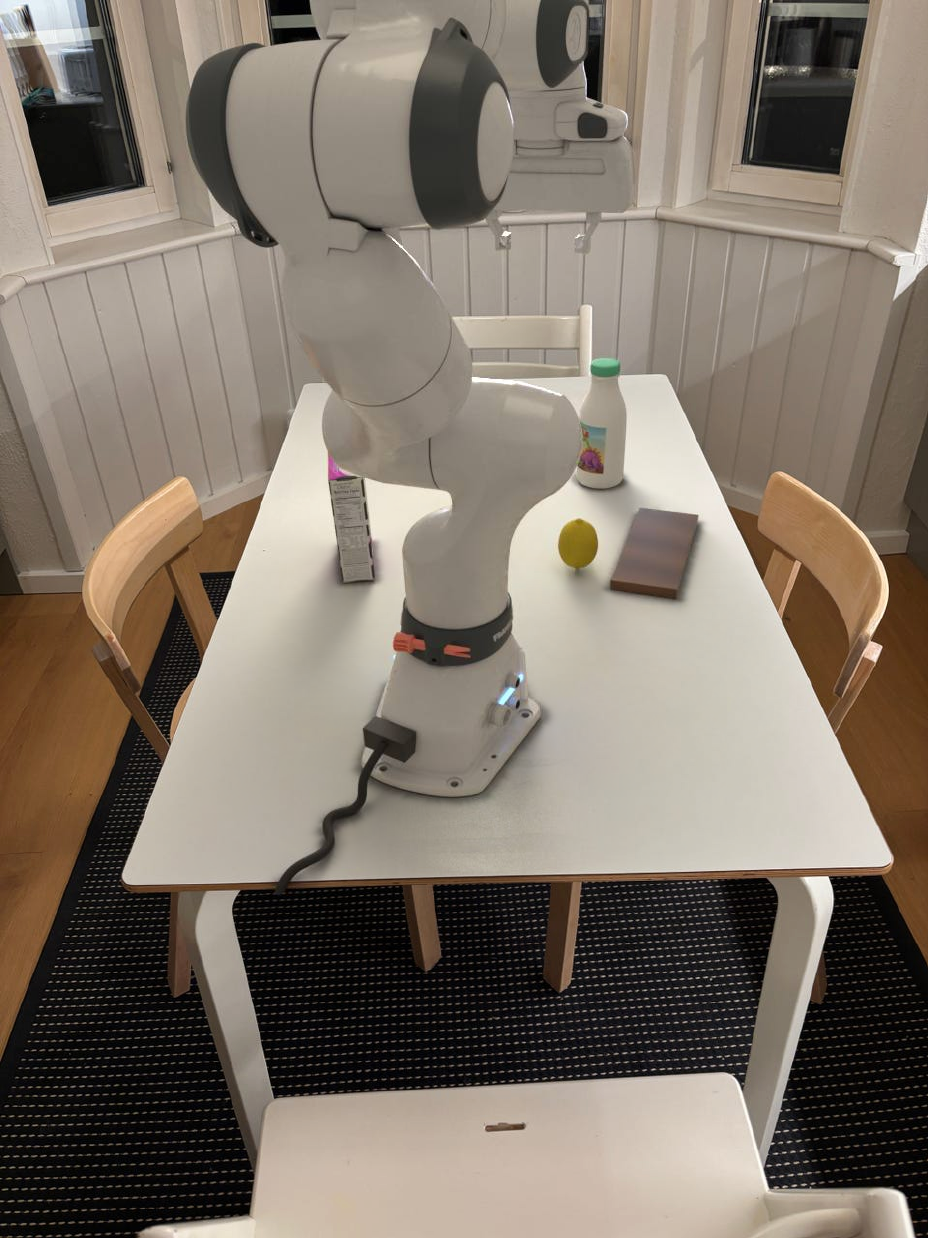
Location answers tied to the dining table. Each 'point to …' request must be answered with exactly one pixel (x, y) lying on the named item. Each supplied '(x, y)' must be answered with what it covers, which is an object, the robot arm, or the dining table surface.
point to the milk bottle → (602, 427)
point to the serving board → (655, 553)
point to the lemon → (578, 543)
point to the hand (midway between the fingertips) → (542, 251)
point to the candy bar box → (351, 524)
